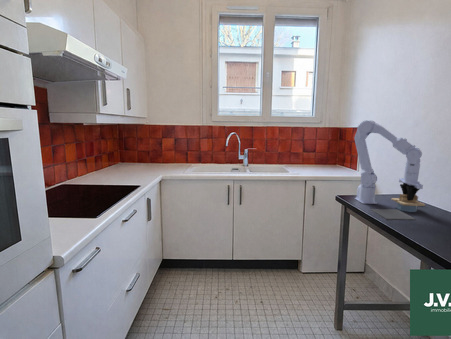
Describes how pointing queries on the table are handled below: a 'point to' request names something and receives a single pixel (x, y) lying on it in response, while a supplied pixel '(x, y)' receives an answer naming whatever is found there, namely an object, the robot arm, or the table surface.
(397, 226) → the table surface
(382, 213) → the mat
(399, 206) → the bowl
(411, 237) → the table surface
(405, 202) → the lid
